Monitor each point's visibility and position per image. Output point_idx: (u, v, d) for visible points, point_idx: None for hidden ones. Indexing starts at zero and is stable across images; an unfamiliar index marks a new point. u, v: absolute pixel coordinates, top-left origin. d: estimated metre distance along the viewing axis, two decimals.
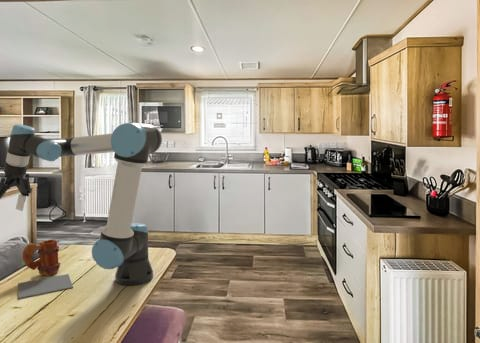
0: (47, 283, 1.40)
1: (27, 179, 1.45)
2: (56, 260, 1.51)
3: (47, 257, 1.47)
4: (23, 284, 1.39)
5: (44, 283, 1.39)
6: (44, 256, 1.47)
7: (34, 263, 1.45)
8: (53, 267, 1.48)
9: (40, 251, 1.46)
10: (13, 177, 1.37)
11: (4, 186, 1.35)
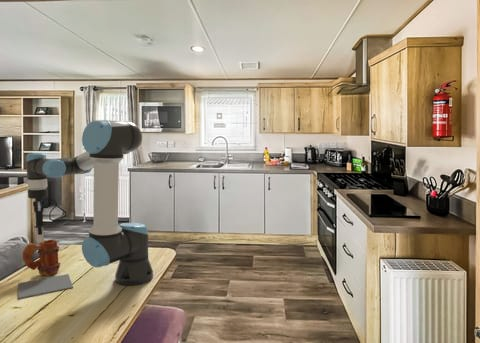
0: (47, 283, 1.40)
1: None
2: (56, 260, 1.51)
3: (47, 257, 1.47)
4: (23, 284, 1.39)
5: (44, 283, 1.39)
6: (44, 256, 1.47)
7: (34, 263, 1.45)
8: (53, 267, 1.48)
9: (40, 251, 1.46)
10: None
11: None
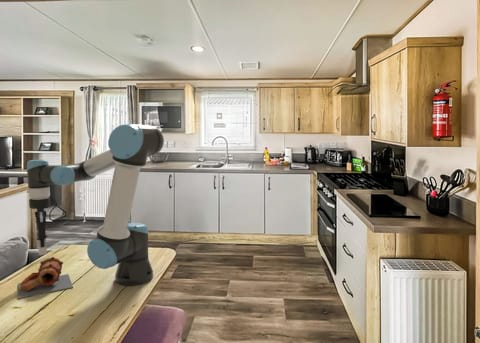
0: None
1: None
2: None
3: None
4: None
5: None
6: None
7: None
8: None
9: None
10: (43, 208, 1.42)
11: None
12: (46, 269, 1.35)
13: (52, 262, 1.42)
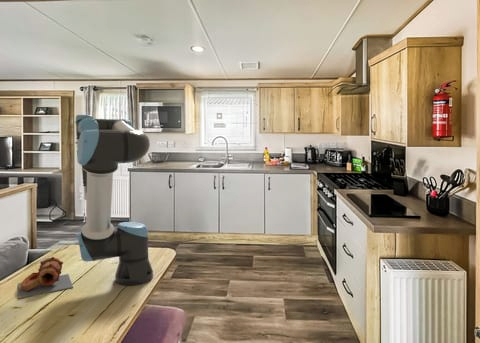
0: None
1: None
2: None
3: None
4: None
5: None
6: None
7: None
8: None
9: None
10: None
11: None
12: (46, 269, 1.35)
13: (52, 262, 1.42)
